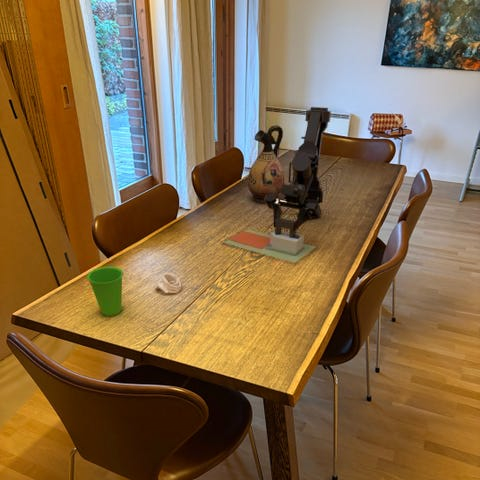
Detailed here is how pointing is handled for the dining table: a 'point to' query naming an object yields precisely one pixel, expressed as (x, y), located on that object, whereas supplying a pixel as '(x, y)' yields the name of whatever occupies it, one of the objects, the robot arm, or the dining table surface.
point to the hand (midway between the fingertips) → (283, 229)
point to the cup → (107, 289)
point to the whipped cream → (166, 285)
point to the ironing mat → (264, 245)
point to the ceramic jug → (266, 167)
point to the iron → (285, 238)
